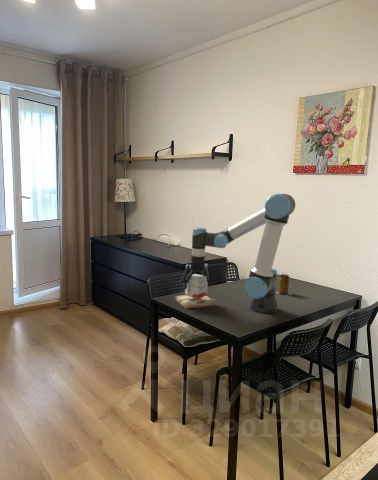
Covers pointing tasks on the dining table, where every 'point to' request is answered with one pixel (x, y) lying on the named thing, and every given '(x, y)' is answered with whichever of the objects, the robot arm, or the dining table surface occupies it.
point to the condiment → (284, 285)
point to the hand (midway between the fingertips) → (196, 293)
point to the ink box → (197, 286)
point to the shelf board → (195, 301)
